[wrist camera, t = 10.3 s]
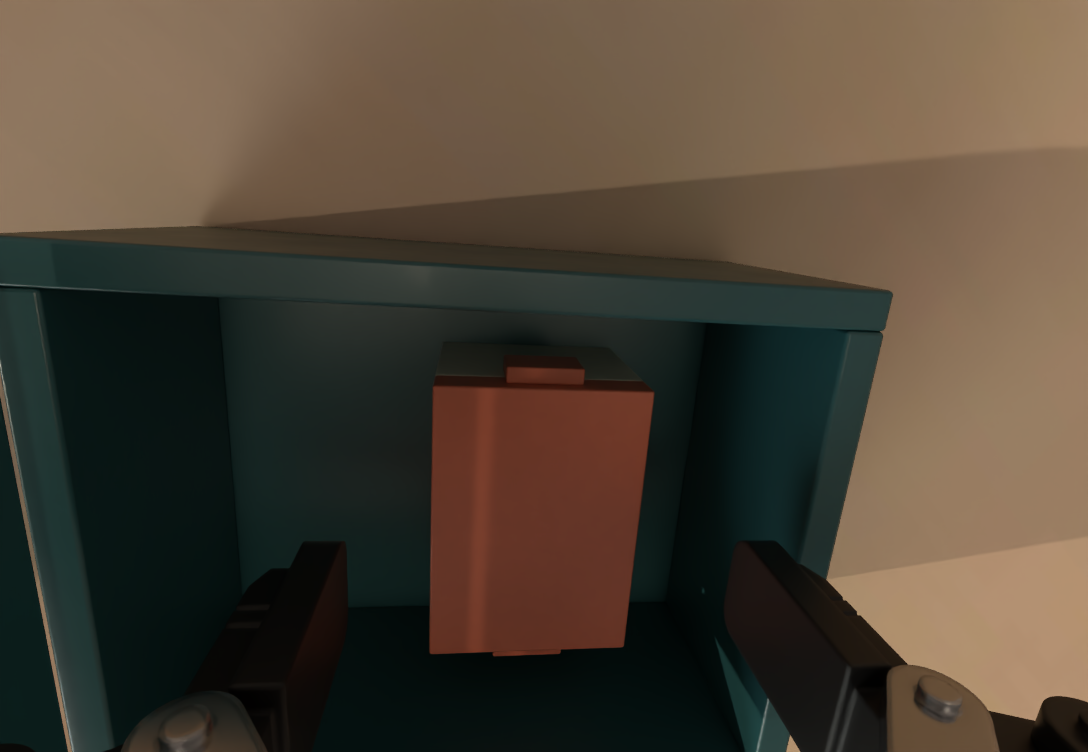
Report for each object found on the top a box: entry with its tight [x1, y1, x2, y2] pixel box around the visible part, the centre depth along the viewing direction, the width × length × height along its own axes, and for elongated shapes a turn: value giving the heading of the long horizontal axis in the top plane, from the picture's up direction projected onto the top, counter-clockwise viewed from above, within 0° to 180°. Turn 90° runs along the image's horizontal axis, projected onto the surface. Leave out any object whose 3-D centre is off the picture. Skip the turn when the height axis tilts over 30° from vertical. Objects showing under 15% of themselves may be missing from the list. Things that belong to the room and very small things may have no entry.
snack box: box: [429, 342, 655, 656], centre depth 16 cm, size 8×5×4 cm, turn 176°
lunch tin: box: [0, 226, 893, 752], centre depth 15 cm, size 16×13×7 cm
